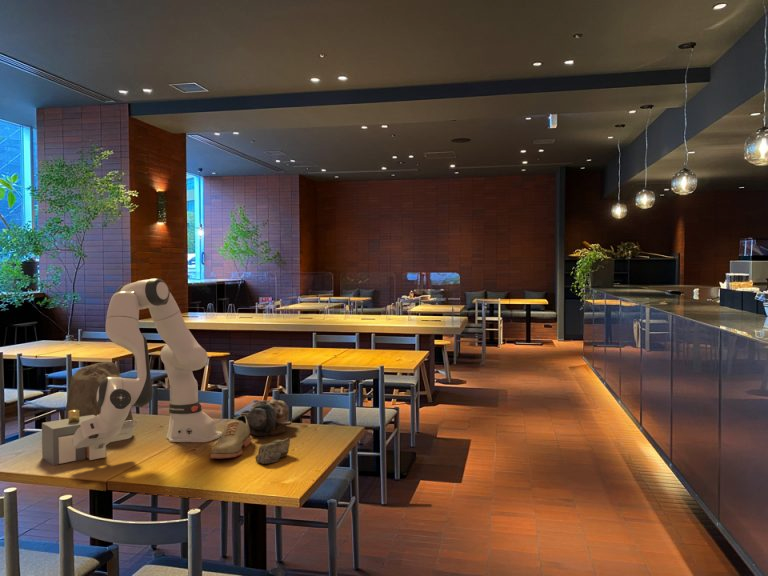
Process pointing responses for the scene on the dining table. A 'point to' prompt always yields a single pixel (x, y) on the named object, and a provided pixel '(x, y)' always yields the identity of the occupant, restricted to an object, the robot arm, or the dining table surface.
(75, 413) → the brass dial
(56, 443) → the grey cabinet
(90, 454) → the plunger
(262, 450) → the rock
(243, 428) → the oxford shoe
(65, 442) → the thin beige tile
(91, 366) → the stone
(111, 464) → the dining table surface
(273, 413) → the sculpture
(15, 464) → the dining table surface
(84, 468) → the dining table surface
